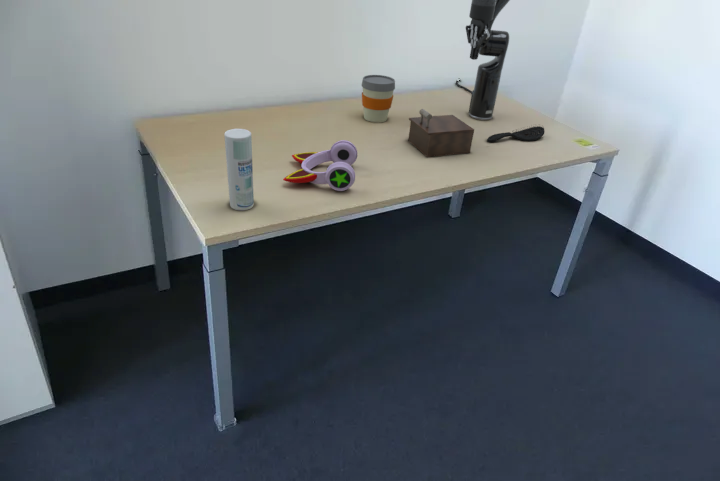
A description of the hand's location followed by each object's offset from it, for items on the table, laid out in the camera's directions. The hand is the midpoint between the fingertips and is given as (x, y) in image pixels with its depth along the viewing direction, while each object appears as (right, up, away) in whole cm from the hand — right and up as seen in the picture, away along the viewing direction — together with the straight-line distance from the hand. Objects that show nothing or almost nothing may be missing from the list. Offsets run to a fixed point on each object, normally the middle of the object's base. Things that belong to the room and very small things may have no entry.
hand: (473, 58), depth 176 cm
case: (-10, -28, +8) cm, 31 cm away
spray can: (-69, -51, -36) cm, 93 cm away
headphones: (-49, -41, -18) cm, 67 cm away
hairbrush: (+20, -23, +20) cm, 36 cm away
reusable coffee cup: (-32, -13, +28) cm, 45 cm away
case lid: (-10, -21, +4) cm, 24 cm away
